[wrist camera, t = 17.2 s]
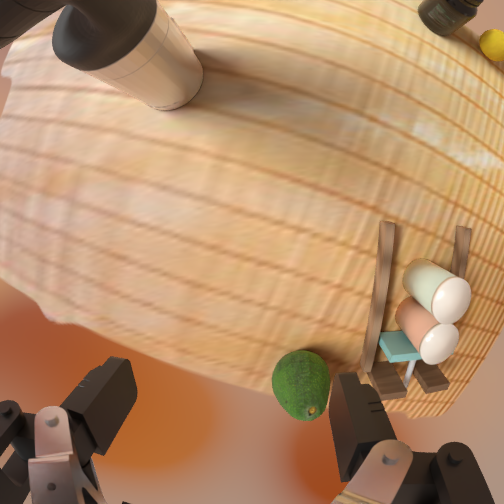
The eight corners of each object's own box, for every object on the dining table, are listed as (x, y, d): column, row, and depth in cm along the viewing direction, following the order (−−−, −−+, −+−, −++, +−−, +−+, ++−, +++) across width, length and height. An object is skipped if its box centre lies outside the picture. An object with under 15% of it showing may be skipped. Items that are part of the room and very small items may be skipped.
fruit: (324, 377, 42) (336, 431, 30) (274, 382, 43) (273, 438, 31) (324, 335, 40) (339, 387, 28) (269, 340, 41) (267, 395, 29)
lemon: (476, 33, 26) (500, 18, 18) (496, 57, 27) (522, 45, 19) (467, 46, 27) (493, 31, 19) (489, 71, 28) (516, 60, 20)
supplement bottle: (428, -1, 26) (459, -34, 14) (457, 28, 27) (495, 2, 15) (409, 11, 27) (441, -25, 16) (440, 42, 28) (480, 14, 16)
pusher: (377, 332, 39) (392, 355, 33) (436, 327, 38) (455, 347, 32) (367, 376, 41) (378, 401, 35) (423, 369, 40) (438, 391, 34)
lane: (380, 220, 36) (405, 231, 28) (462, 226, 35) (494, 236, 27) (358, 369, 41) (371, 401, 33) (433, 361, 40) (453, 387, 32)
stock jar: (398, 295, 38) (427, 327, 28) (430, 293, 37) (463, 322, 28) (391, 330, 39) (416, 367, 30) (423, 327, 39) (451, 361, 29)
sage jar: (404, 257, 37) (439, 279, 27) (437, 257, 36) (475, 277, 27) (399, 296, 38) (429, 326, 28) (431, 295, 37) (464, 322, 28)
